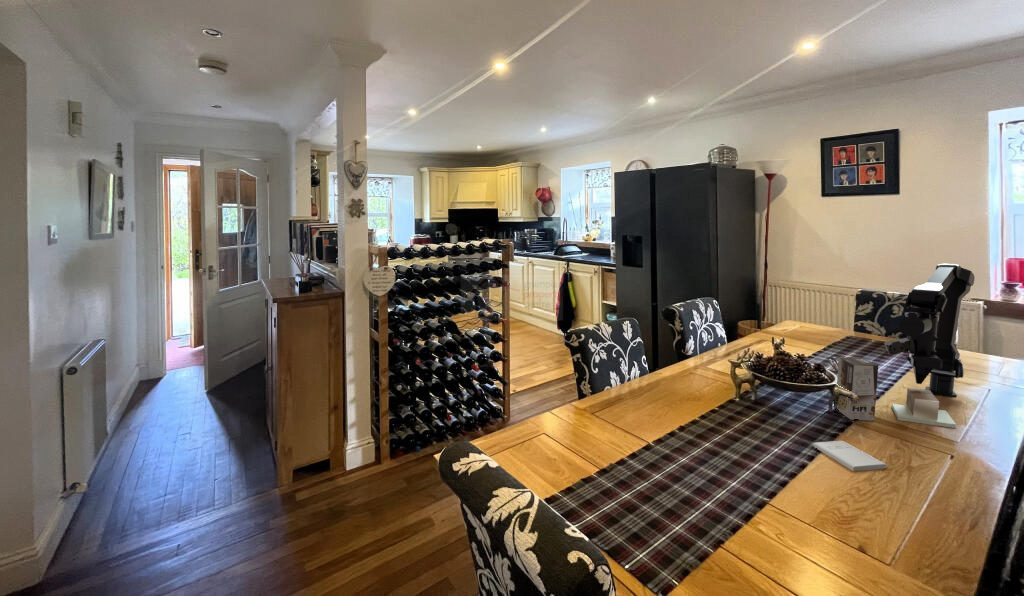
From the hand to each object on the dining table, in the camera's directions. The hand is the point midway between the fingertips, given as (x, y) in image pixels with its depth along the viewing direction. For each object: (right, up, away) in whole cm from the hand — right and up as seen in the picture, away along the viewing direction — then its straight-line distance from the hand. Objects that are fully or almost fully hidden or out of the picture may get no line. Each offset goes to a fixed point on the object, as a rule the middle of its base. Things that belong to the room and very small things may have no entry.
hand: (918, 383), depth 137 cm
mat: (-3, -9, -5) cm, 11 cm away
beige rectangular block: (0, -4, +1) cm, 4 cm away
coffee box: (-20, -9, -2) cm, 22 cm away
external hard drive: (-40, -13, -26) cm, 49 cm away
